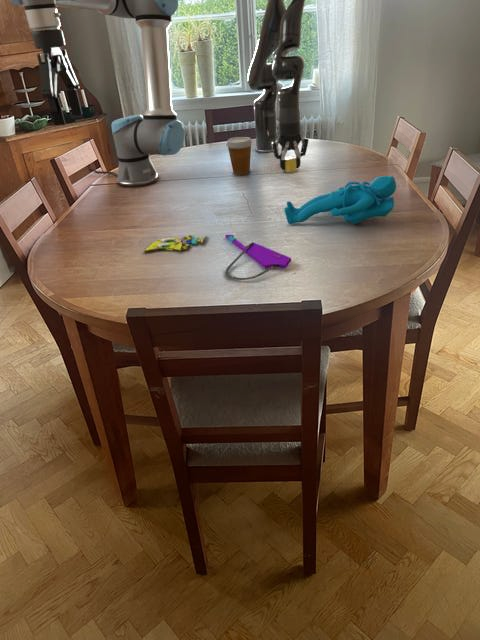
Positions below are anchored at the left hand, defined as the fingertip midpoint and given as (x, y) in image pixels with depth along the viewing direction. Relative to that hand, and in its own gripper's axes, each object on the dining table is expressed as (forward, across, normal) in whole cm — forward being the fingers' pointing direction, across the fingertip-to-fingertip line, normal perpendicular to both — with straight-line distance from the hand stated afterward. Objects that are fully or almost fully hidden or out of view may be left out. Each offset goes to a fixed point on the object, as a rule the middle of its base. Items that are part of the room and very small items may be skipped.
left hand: (69, 119), depth 132 cm
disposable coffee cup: (+31, +46, -43) cm, 70 cm away
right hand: (+29, +44, -61) cm, 81 cm away
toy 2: (+31, -8, -73) cm, 79 cm away
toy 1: (+31, -18, -28) cm, 45 cm away
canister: (+30, +44, -61) cm, 81 cm away
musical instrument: (+31, -30, -47) cm, 64 cm away
